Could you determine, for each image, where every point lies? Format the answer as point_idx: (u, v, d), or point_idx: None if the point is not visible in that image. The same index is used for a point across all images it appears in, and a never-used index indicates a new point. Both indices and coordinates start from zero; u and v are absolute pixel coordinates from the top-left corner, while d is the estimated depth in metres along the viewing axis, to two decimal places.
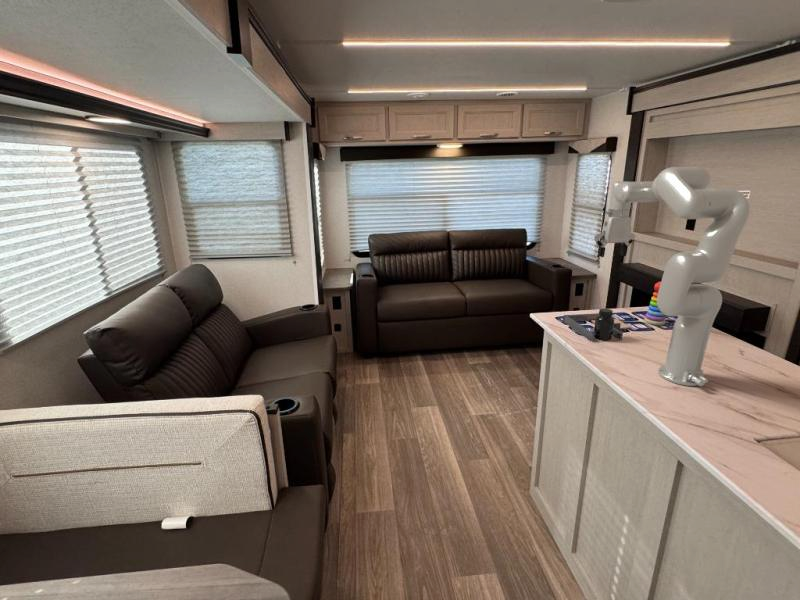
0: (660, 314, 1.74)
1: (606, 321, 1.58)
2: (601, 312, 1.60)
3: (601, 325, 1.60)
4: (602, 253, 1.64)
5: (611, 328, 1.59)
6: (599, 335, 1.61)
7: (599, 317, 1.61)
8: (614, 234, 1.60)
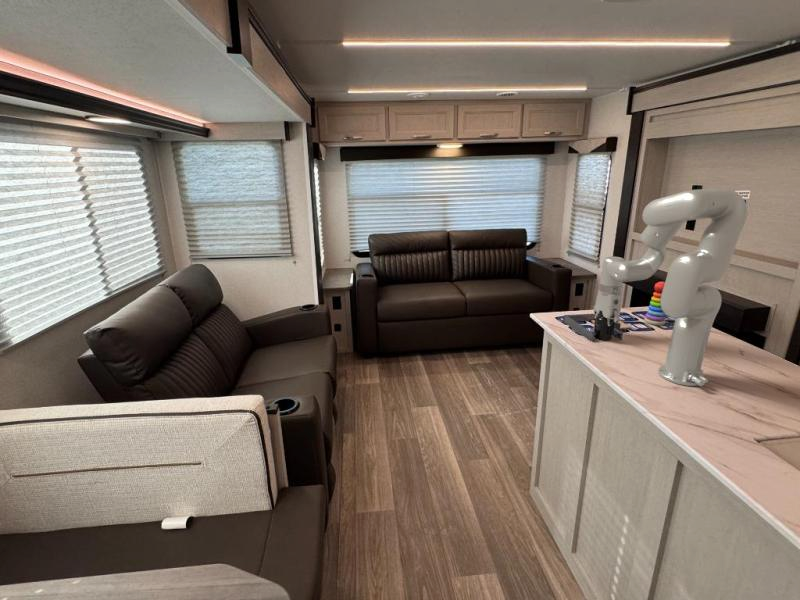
0: (660, 314, 1.74)
1: (606, 321, 1.58)
2: (601, 312, 1.60)
3: (601, 325, 1.60)
4: None
5: None
6: (599, 334, 1.61)
7: (599, 317, 1.61)
8: None
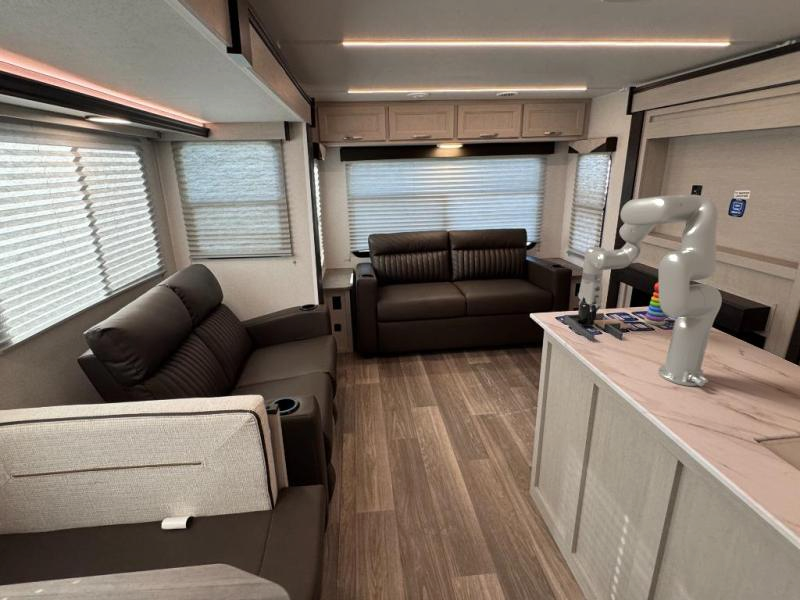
0: (660, 314, 1.74)
1: (589, 307, 1.70)
2: (584, 299, 1.71)
3: (584, 311, 1.71)
4: (594, 316, 1.70)
5: None
6: (582, 320, 1.73)
7: (582, 304, 1.72)
8: None
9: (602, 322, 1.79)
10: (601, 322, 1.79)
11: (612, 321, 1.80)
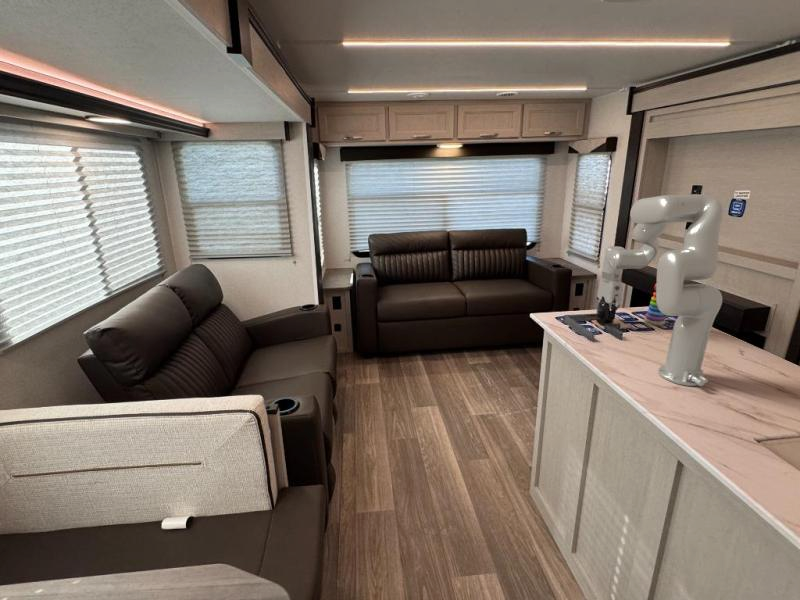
0: (660, 314, 1.74)
1: (608, 306, 1.71)
2: (603, 298, 1.72)
3: (603, 310, 1.72)
4: None
5: None
6: (602, 319, 1.74)
7: (601, 303, 1.73)
8: None
9: None
10: None
11: None
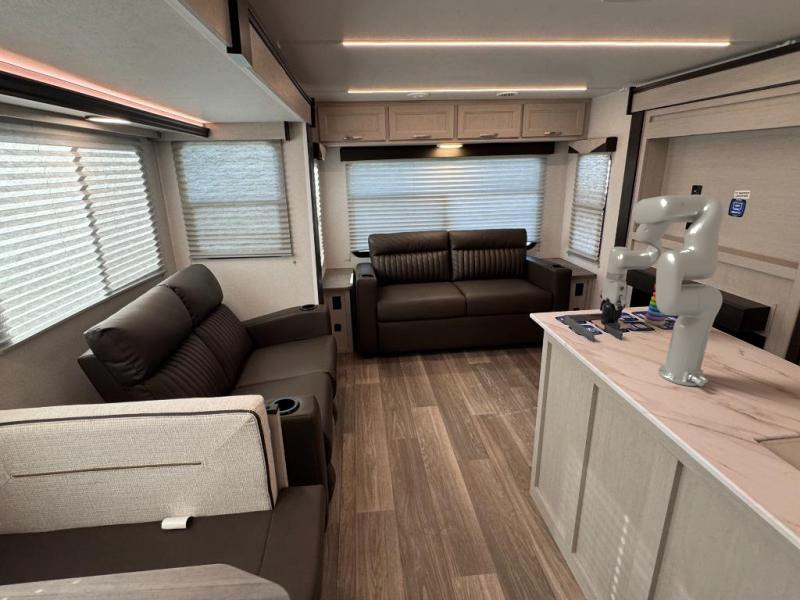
0: (660, 314, 1.74)
1: (613, 308, 1.71)
2: (608, 299, 1.73)
3: (608, 312, 1.73)
4: None
5: None
6: (606, 320, 1.74)
7: (606, 304, 1.74)
8: None
9: None
10: None
11: None
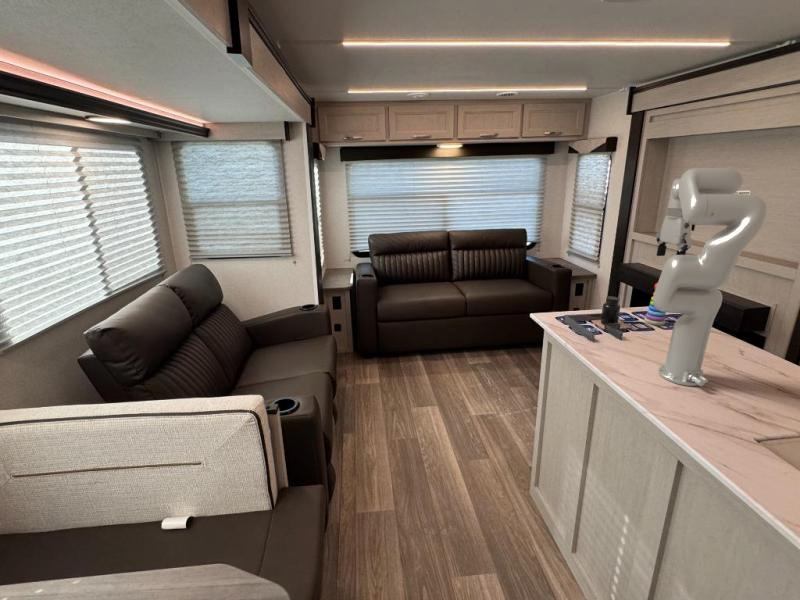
0: (660, 314, 1.74)
1: (613, 308, 1.71)
2: (608, 299, 1.73)
3: (608, 312, 1.73)
4: None
5: (617, 314, 1.73)
6: (606, 320, 1.74)
7: (606, 304, 1.74)
8: None
9: None
10: None
11: None
